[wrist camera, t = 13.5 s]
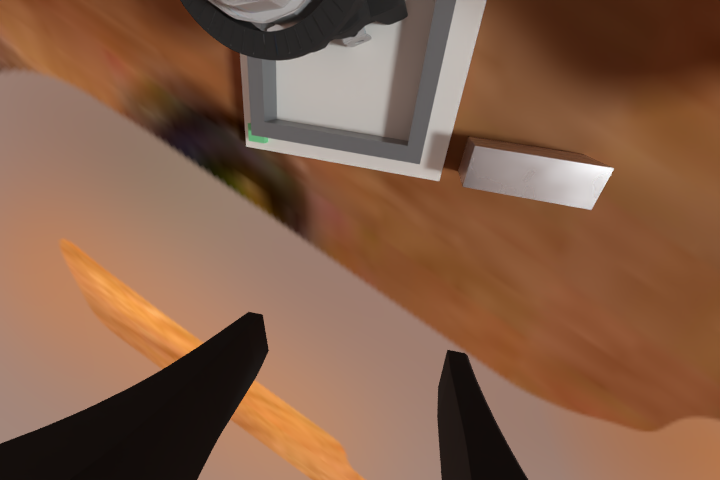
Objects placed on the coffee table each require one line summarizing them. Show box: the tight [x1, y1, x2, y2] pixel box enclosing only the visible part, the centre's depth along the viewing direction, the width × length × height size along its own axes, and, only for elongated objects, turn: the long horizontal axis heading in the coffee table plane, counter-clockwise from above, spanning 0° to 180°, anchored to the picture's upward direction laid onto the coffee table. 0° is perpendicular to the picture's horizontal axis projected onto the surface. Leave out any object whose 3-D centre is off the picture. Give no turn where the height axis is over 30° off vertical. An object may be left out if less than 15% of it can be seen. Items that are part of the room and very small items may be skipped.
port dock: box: [240, 0, 487, 181], centre depth 14 cm, size 12×14×2 cm
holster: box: [458, 136, 614, 210], centre depth 12 cm, size 6×13×3 cm, turn 173°
